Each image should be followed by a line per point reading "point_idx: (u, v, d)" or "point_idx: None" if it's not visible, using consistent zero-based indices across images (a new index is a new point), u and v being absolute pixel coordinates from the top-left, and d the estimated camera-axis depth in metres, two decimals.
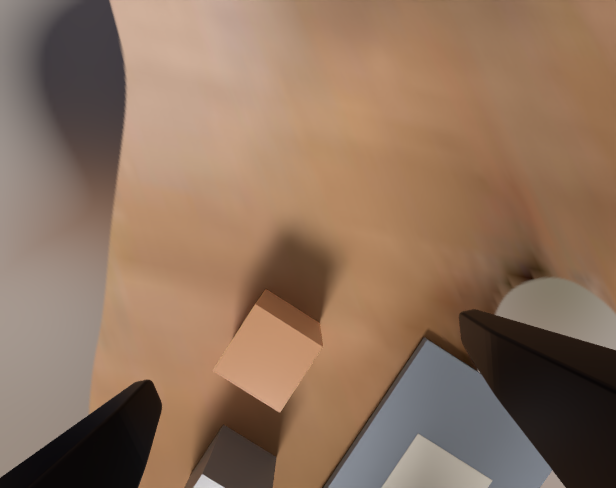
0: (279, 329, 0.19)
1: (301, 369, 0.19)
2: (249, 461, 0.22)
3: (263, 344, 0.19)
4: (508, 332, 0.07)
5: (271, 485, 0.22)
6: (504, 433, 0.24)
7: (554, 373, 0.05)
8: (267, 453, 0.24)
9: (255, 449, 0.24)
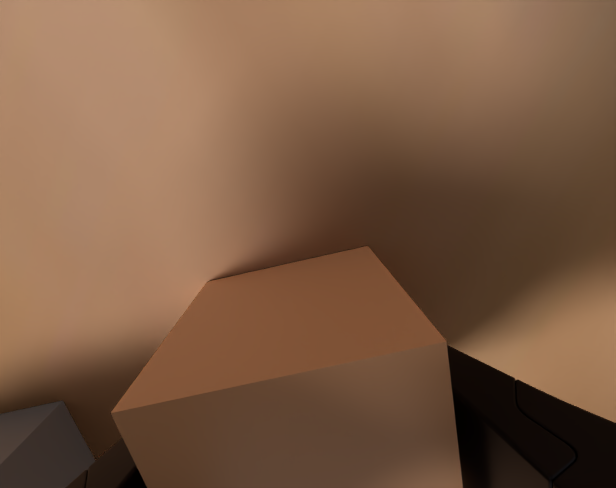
0: (426, 459, 0.05)
1: None
2: None
3: (341, 461, 0.05)
4: None
5: None
6: None
7: None
8: None
9: None
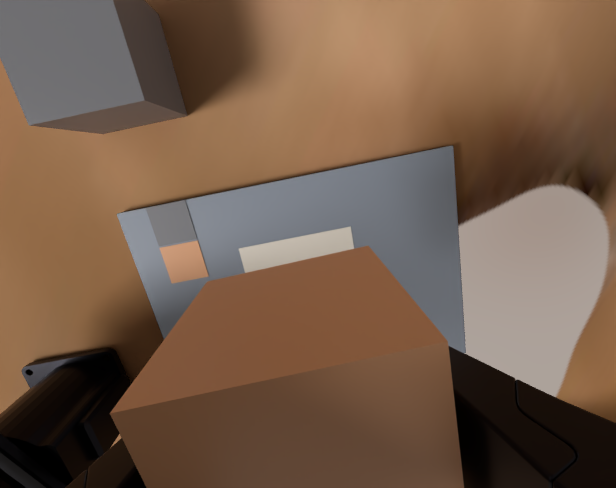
0: (427, 460, 0.05)
1: None
2: (160, 64, 0.15)
3: (341, 463, 0.05)
4: None
5: (166, 106, 0.15)
6: (417, 298, 0.20)
7: None
8: (181, 99, 0.17)
9: (173, 76, 0.16)
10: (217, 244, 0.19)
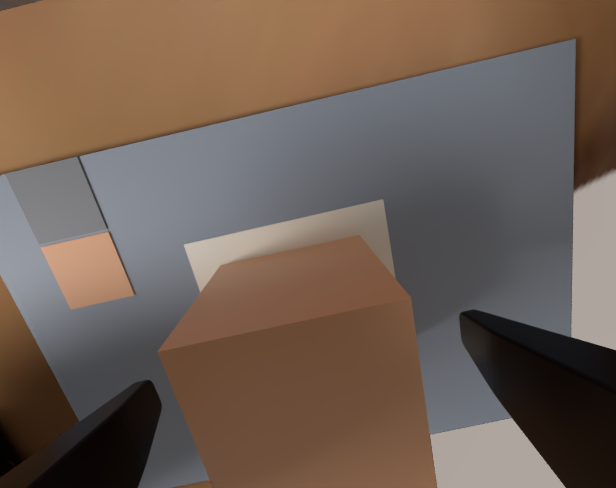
0: (398, 393, 0.06)
1: None
2: None
3: (332, 394, 0.06)
4: (508, 332, 0.07)
5: None
6: None
7: (554, 373, 0.05)
8: None
9: None
10: (145, 237, 0.10)
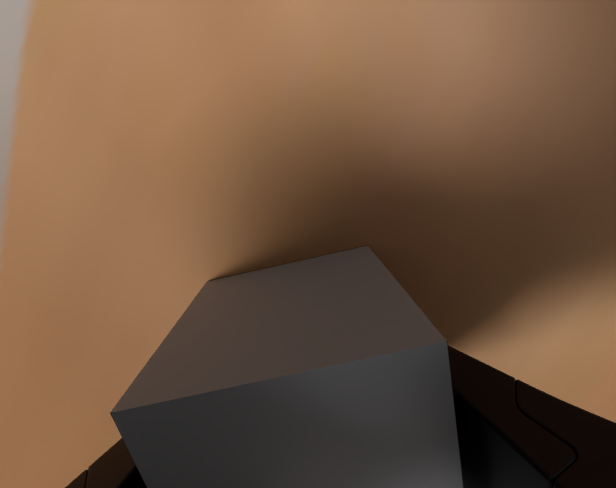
0: None
1: None
2: None
3: None
4: None
5: None
6: None
7: None
8: None
9: None
10: None
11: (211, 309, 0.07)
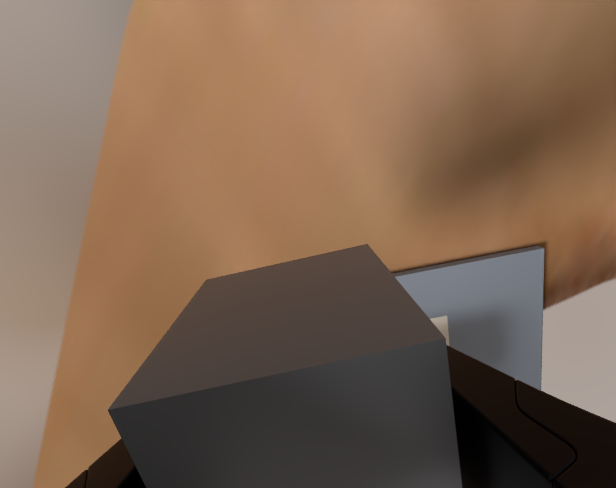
0: None
1: None
2: None
3: None
4: None
5: None
6: None
7: None
8: None
9: None
10: None
11: (210, 307, 0.07)
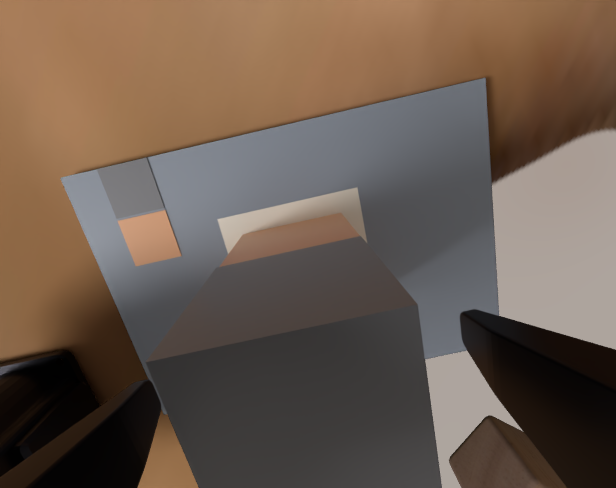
0: None
1: None
2: None
3: None
4: (509, 332, 0.07)
5: None
6: (442, 277, 0.16)
7: (555, 373, 0.05)
8: None
9: None
10: (190, 214, 0.15)
11: (222, 288, 0.08)
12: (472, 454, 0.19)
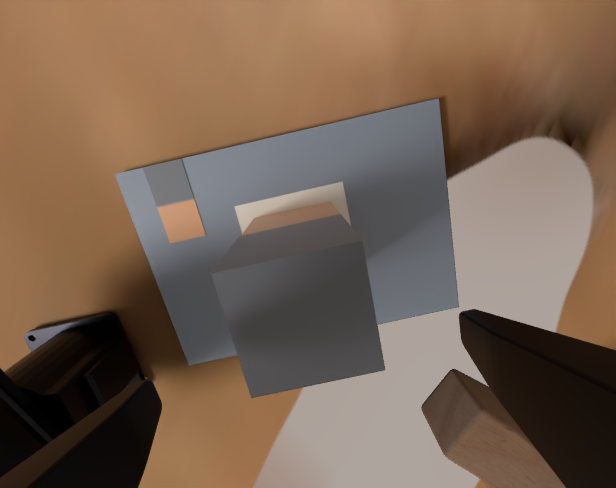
0: None
1: None
2: None
3: None
4: (508, 332, 0.07)
5: None
6: (410, 253, 0.21)
7: (554, 373, 0.05)
8: None
9: None
10: (213, 202, 0.19)
11: (246, 244, 0.13)
12: (438, 399, 0.23)
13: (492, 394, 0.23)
